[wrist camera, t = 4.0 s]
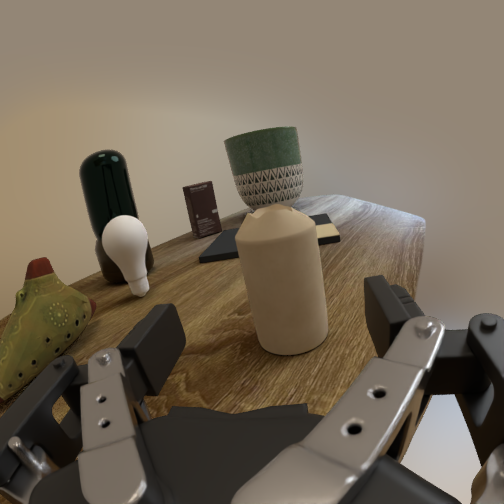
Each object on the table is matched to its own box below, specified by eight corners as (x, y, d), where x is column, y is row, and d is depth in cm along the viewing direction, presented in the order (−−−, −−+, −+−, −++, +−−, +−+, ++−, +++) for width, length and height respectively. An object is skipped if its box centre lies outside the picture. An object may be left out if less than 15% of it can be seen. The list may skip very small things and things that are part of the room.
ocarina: (0, 428, 13) (-64, 319, 10) (-21, 411, 14) (-73, 316, 12) (116, 318, 32) (88, 237, 29) (87, 318, 33) (60, 244, 30)
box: (200, 239, 65) (187, 186, 62) (193, 237, 69) (181, 187, 66) (223, 231, 68) (212, 180, 65) (215, 229, 72) (204, 181, 69)
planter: (227, 223, 77) (209, 143, 71) (259, 208, 93) (245, 141, 87) (298, 216, 67) (280, 124, 61) (318, 201, 83) (305, 128, 77)
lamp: (101, 280, 49) (71, 164, 43) (146, 262, 55) (118, 151, 49) (112, 291, 42) (75, 152, 36) (164, 269, 47) (132, 138, 41)
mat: (327, 218, 60) (326, 212, 59) (340, 241, 43) (339, 234, 42) (224, 235, 64) (223, 230, 64) (200, 263, 47) (198, 256, 47)
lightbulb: (134, 289, 41) (112, 216, 38) (170, 284, 40) (148, 206, 37) (114, 307, 35) (87, 226, 32) (153, 304, 34) (126, 215, 31)
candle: (336, 346, 20) (320, 204, 17) (260, 362, 20) (227, 222, 17) (319, 311, 25) (302, 195, 22) (257, 324, 25) (232, 209, 22)
